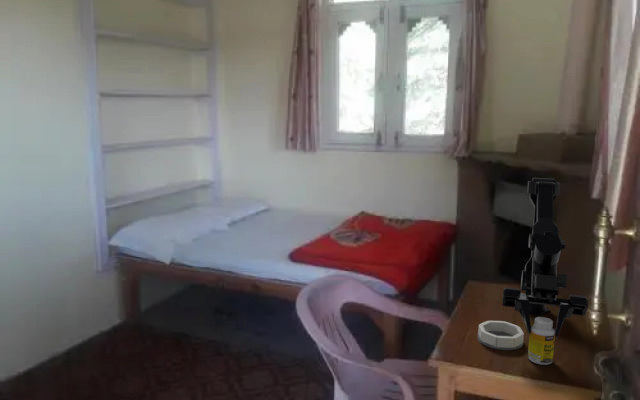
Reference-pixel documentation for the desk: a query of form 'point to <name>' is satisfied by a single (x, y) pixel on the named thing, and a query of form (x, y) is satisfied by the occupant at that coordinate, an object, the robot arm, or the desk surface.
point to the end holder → (500, 335)
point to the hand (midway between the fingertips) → (542, 334)
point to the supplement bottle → (541, 341)
